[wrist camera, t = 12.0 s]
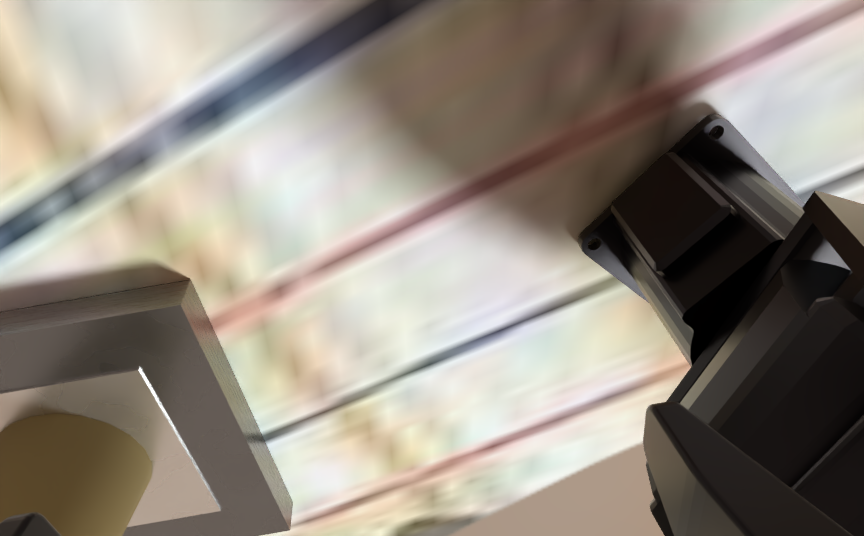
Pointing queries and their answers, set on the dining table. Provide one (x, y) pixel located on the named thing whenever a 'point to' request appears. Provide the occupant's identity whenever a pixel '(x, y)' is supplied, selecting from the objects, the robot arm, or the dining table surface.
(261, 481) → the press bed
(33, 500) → the cork
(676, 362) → the dining table surface
